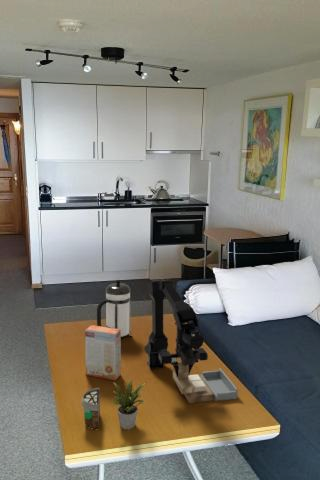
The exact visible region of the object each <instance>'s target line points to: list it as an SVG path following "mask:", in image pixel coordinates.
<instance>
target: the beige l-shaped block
mask: <svg viewBox="0 0 320 480" xmlns="http://www.w3.org/2000/svg"><path fill="white" fill-rule="evenodd" d="M178 363H179V364H178V377H177V376H176V373H175V370H173V371H172V379H173V381H174V382H175V384H176V386H177V388H178V390H179V391H180V394H181V395H184V394H188V393H192V385H191V383H190V381H189V380H188V375H190V373H189V365H183V364H182V362H178Z"/></svg>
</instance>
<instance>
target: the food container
mask: <svg viewBox="0 0 320 480" xmlns="http://www.w3.org/2000/svg"><path fill="white" fill-rule="evenodd" d="M100 394H101V389H100V387H95V388H90V389H89V390H87V391H85V392H84V394H83V395H82V398H81V403H80V404H81V405H82V407H83V415H84V425H85V424H86V425H87V426H88V427H90V428H89V429H91V428H93V429H92V430H95V429H99V428H100V419H99V416H101V408H100V407H101V404H100V403H101V395H100ZM86 425H85V426H86ZM87 426H86V427H87ZM88 427H87V428H88Z"/></svg>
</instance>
